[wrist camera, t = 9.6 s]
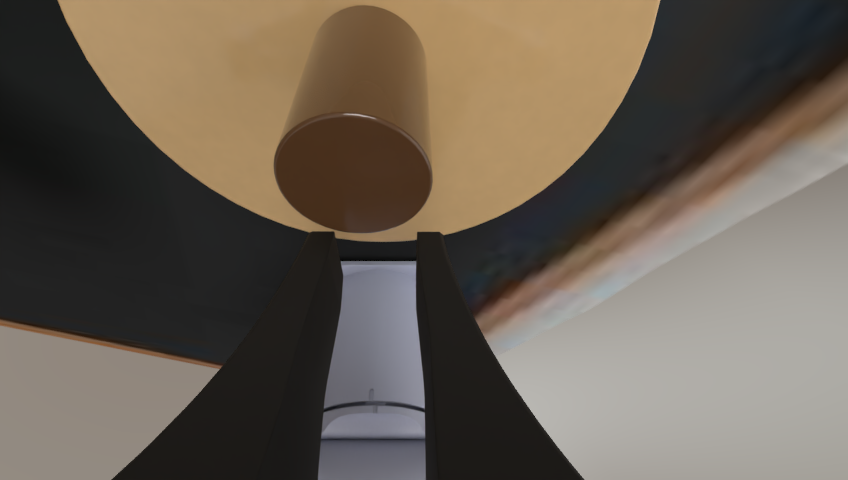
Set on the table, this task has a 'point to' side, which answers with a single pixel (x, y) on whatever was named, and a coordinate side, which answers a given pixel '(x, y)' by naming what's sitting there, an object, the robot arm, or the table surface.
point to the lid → (368, 99)
